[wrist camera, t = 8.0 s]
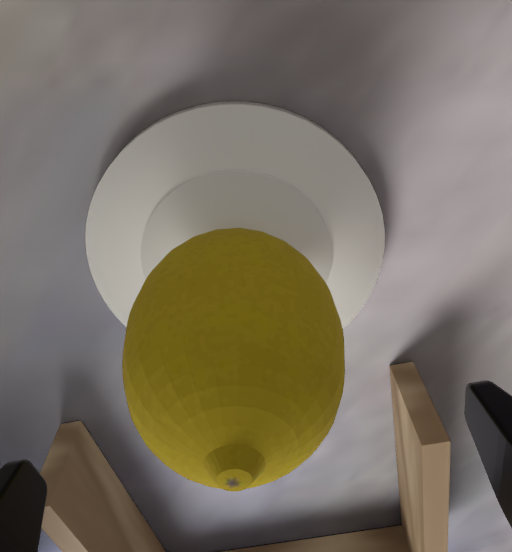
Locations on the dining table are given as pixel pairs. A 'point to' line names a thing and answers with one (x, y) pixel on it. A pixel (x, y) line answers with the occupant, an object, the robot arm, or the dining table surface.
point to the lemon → (233, 359)
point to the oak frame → (336, 548)
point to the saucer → (235, 199)
